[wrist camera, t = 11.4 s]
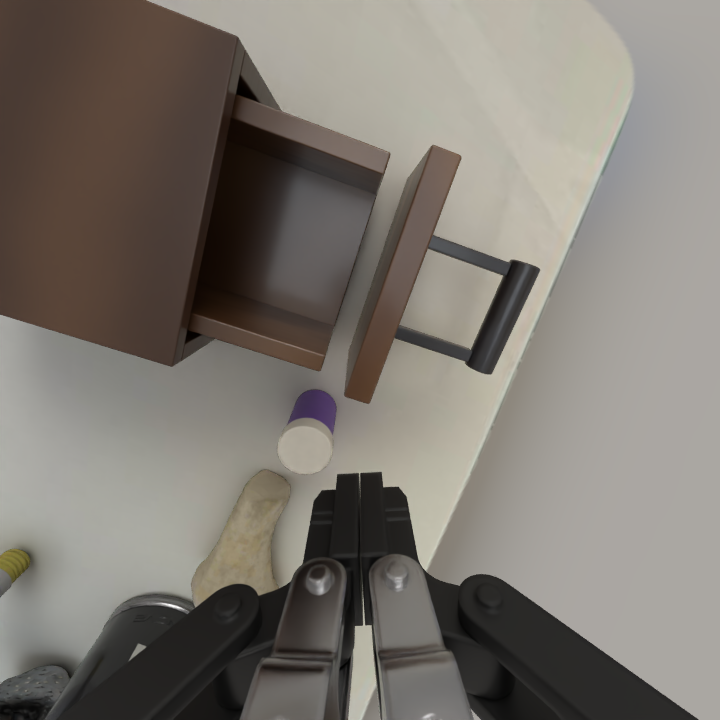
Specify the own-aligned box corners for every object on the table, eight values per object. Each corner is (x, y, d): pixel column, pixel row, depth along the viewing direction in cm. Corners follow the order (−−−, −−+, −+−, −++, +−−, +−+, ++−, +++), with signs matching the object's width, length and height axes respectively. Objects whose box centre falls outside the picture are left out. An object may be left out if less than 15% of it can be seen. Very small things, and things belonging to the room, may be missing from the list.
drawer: (522, 220, 21) (602, 209, 14) (450, 384, 24) (487, 442, 17) (203, 101, 19) (115, 20, 12) (167, 293, 22) (80, 315, 15)
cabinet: (289, 123, 20) (238, 36, 12) (240, 322, 24) (172, 367, 15) (33, 27, 19) (-237, -153, 11) (18, 250, 22) (-197, 255, 14)
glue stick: (330, 433, 26) (323, 481, 21) (288, 421, 26) (270, 466, 21) (343, 395, 25) (339, 435, 20) (300, 382, 25) (284, 419, 20)
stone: (284, 593, 30) (269, 656, 26) (206, 584, 30) (177, 646, 26) (294, 473, 27) (279, 520, 22) (207, 463, 27) (174, 508, 22)
